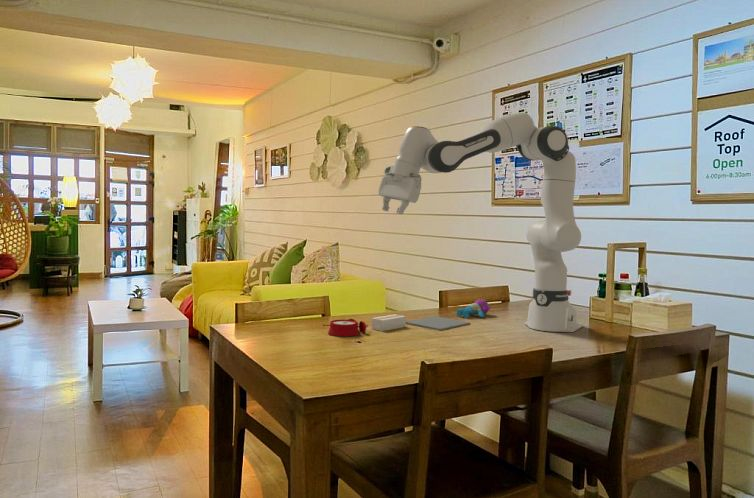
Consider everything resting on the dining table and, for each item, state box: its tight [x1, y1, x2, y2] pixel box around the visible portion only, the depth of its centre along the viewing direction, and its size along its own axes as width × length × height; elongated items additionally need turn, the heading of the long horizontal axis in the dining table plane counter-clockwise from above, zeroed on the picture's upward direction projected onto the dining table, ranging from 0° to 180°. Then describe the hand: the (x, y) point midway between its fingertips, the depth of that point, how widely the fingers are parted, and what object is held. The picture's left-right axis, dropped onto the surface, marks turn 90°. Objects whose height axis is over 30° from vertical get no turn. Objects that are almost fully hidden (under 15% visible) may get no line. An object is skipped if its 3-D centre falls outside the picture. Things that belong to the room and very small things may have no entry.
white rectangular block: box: [371, 313, 406, 332], centre depth 209 cm, size 12×5×4 cm, turn 136°
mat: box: [405, 316, 471, 331], centre depth 218 cm, size 18×16×1 cm
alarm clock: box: [322, 318, 369, 337], centre depth 198 cm, size 10×6×15 cm
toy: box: [456, 299, 492, 319], centre depth 237 cm, size 12×7×15 cm
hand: (392, 212), depth 199 cm, fingers open, 8 cm apart
